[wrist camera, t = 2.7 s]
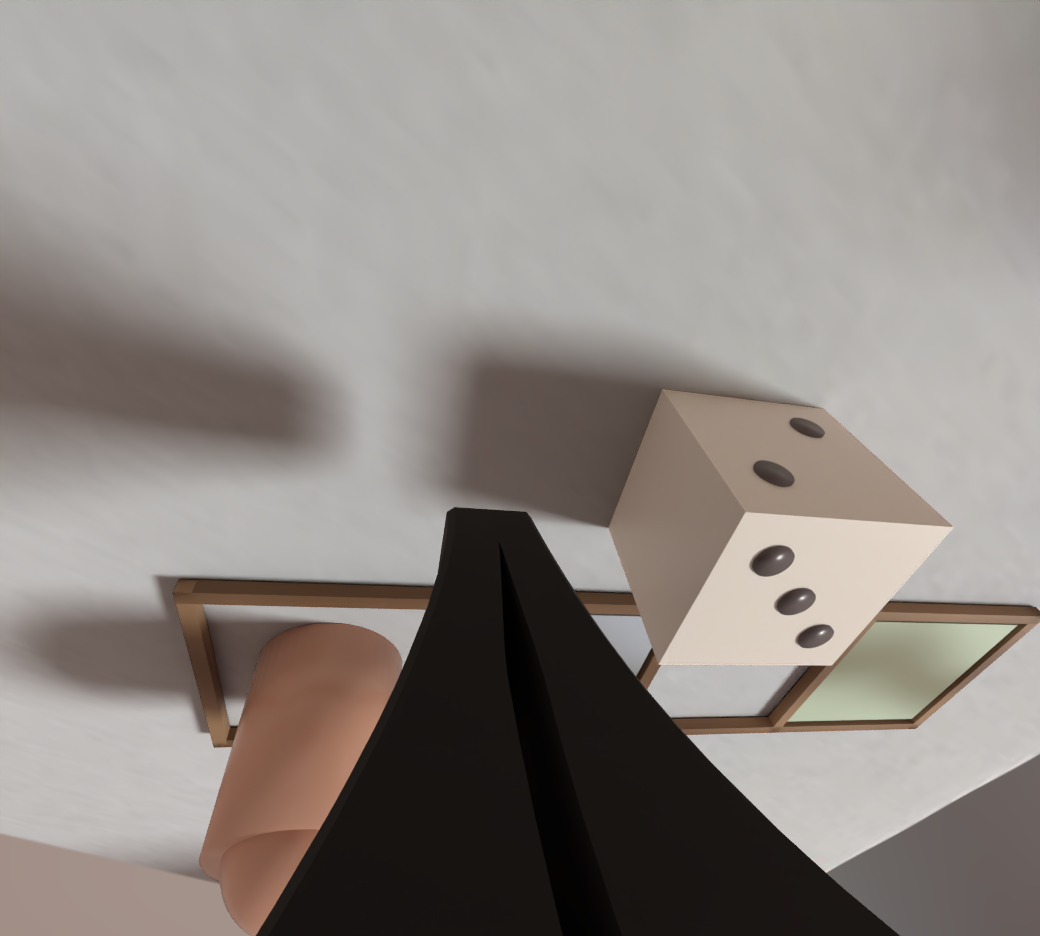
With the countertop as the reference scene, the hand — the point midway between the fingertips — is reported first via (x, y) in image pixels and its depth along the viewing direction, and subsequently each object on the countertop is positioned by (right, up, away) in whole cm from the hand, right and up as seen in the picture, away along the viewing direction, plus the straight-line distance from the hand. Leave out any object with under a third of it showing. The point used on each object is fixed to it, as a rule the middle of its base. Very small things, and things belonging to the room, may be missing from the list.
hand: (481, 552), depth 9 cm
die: (+5, +1, +4) cm, 7 cm away
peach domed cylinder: (-5, -4, +6) cm, 9 cm away
